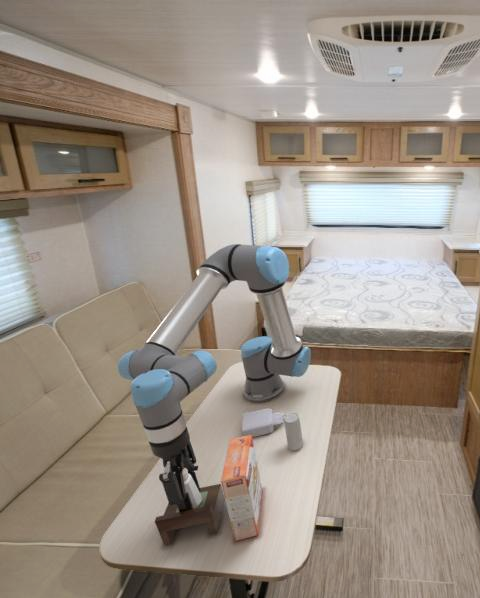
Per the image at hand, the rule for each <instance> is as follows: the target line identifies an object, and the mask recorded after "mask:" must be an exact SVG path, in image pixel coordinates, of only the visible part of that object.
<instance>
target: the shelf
mask: <svg viewBox="0 0 480 598" xmlns="http://www.w3.org/2000/svg"><path fill="white" fill-rule="evenodd" d="M200 494H201V497H202V499H203V500H202V501H201V503H200V505H199V506H198V507H197V508H195V509H191V510H186V511H182V512H179V509H178V506H177V504H176V505H171V506H170V505H169V502H167V506H166V508H165V509H164V513H163V515H159V516H156V517H155V519H154V525H155V526H156V528H157V532H158V533H159V536H160V539H161V542H162V544H163V546H164V547H165V546H170V545H172V544H173V541H174V537H175V534H176V532H177V530H179V529H183V528H189V527H193V526H197V525H201V524H206V526H207V529H208V533H209V535H210V536H212V535H217V534H218V531H219V527H220V523H221V518H222V513H223V509H224V504H225V502H226V501H225V497H224V493H223V489H222V485H221V483H218V484H213V485H208V486H203V487H200Z"/></svg>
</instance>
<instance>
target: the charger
mask: <svg viewBox="0 0 480 598" xmlns="http://www.w3.org/2000/svg"><path fill="white" fill-rule="evenodd" d="M287 414H288V413H286V414H283V412H276V413H274V411H273V409H272V408H270V407H268V408H263V409H258V410H253V411H248V412H244V413H242V423H241V433H242V436H247V435H252V436H253V438H255V437H260V436H263V435H264V436H265V435H268V434H272V432H273V431H275V430H274V429H275V427H274V426H278V425H281V424H283V423H284V418H285V416H286V415H287Z"/></svg>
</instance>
